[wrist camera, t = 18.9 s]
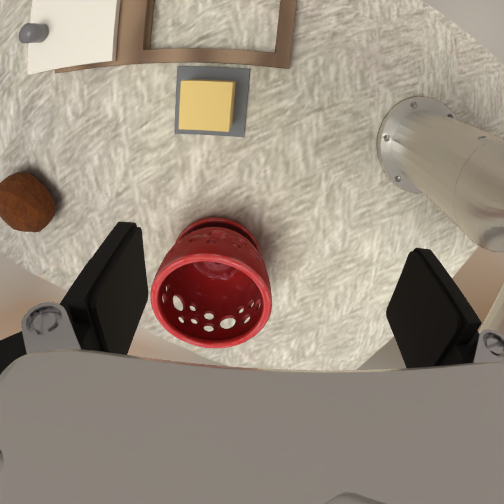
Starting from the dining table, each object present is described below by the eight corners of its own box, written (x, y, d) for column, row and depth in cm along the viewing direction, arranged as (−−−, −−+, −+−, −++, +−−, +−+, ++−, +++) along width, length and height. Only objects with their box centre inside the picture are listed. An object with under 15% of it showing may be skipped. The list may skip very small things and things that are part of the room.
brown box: (296, -18, 25) (299, -24, 23) (286, 68, 31) (289, 68, 29) (71, -7, 24) (61, -9, 22) (65, 71, 30) (55, 73, 28)
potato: (62, 228, 42) (37, 255, 36) (10, 208, 40) (-17, 231, 34) (67, 177, 38) (38, 199, 32) (12, 158, 36) (-20, 177, 30)
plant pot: (262, 292, 47) (263, 354, 37) (173, 283, 47) (154, 343, 37) (275, 210, 41) (281, 264, 30) (171, 201, 40) (143, 250, 30)
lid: (123, -20, 23) (108, -28, 19) (115, 60, 28) (99, 61, 24) (37, 1, 22) (18, -2, 19) (32, 74, 27) (12, 77, 24)
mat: (250, 69, 31) (250, 69, 31) (243, 136, 36) (243, 137, 35) (178, 66, 31) (177, 66, 31) (175, 132, 35) (174, 133, 35)
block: (235, 81, 32) (232, 82, 27) (232, 123, 34) (228, 131, 30) (190, 79, 32) (180, 80, 27) (188, 121, 34) (178, 129, 30)
